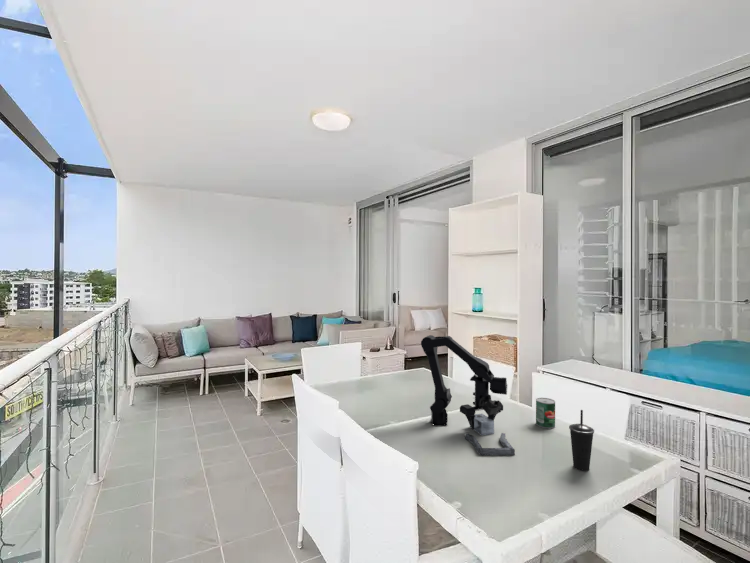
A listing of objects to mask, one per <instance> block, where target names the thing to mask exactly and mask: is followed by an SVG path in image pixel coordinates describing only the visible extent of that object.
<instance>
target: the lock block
mask: <svg viewBox="0 0 750 563" xmlns="http://www.w3.org/2000/svg"><path fill="white" fill-rule="evenodd" d="M474 415H476V416H475V418H474V429H472V430H473V431H474V432H476V433H477V434H479V435H480V436H485V435H486V436H487V435H494V434H495V420H494V421H493V420H492V419H490V418H488V415H485V414H483V413H475V414H474ZM469 428H470V429H471V426H470V425H469Z"/></svg>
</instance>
